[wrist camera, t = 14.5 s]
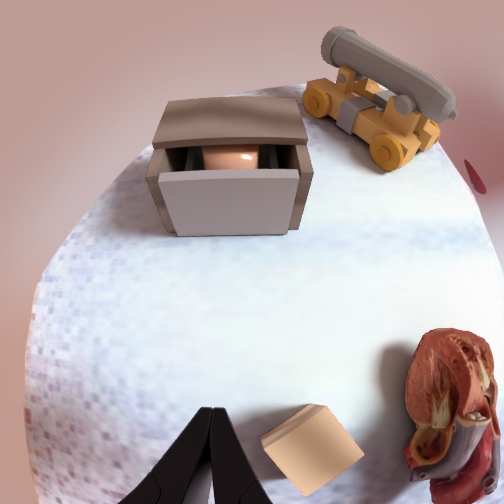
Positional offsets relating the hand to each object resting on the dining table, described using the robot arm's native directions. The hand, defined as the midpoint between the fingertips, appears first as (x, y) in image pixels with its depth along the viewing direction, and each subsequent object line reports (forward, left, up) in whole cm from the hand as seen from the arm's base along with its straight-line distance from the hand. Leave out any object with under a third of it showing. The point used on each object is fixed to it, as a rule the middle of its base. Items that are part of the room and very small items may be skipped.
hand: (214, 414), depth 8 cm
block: (+3, -6, -13) cm, 15 cm away
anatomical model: (+13, -14, -14) cm, 23 cm away
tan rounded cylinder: (+11, +18, -12) cm, 24 cm away
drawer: (+11, +17, -13) cm, 24 cm away
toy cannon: (+39, +19, -14) cm, 45 cm away
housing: (+12, +18, -13) cm, 26 cm away
